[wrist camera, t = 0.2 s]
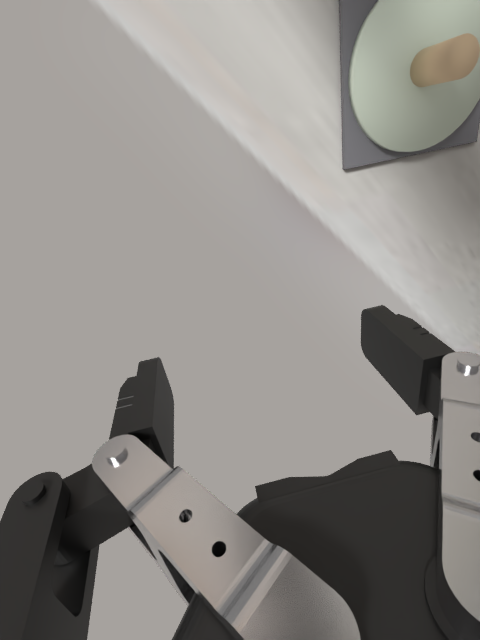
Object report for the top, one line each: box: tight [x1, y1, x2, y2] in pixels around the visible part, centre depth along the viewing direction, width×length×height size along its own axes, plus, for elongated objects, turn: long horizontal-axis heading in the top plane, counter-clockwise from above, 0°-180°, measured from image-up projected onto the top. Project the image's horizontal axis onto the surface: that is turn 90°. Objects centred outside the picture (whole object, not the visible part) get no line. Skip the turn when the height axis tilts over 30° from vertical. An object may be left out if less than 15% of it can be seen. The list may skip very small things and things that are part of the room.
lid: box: [348, 0, 480, 152], centre depth 32 cm, size 15×15×6 cm
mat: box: [339, 0, 480, 169], centre depth 35 cm, size 16×16×1 cm
